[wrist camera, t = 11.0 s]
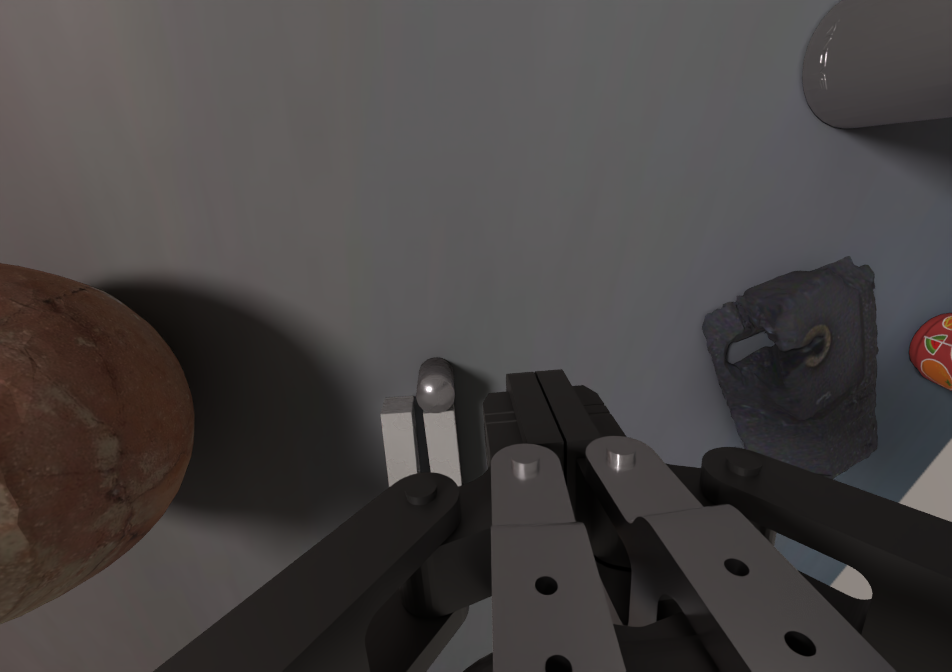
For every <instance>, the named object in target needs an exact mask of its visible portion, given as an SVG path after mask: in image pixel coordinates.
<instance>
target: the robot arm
mask: <svg viewBox="0 0 952 672" xmlns="http://www.w3.org/2000/svg"><path fill="white" fill-rule="evenodd" d="M802 80H803V89H804V93H805V96H806V99H807V102H808V104H809V106H810V108H811V109H812V111H813V112H814V114H815V115H816V116H818V117H819V118H820V119H821V120H822V121H823V122H825V123H827V124H829V125H831V126H834V127H839V128H844V129H846V128H860V127H869V126H878V125H887V124H897V123H906V122H915V121H924V120H932V119H941V118H950V117H952V0H842V1H840V2H839V3H838V4H837V5H835V6H834V7H833V8H832V9H831V10H830V11H829V12H828V14H827V15H826V16H825V17H824V18H823V19H822V21H821V22H820V24H819V25H818V27H817V28H816V30H815V32H814V33H813V36H812V38H811V40H810V42H809V45H808V47H807V50H806V54H805V58H804V62H803V73H802ZM483 414H484V430H485V445H486V456H487V464H488V470H487V471H486V472H485V473H484V474H483V475H482V476H481V477H479V478H478V479H476V480H474V481H472V482H470V483H467V484H464V485H461V486H457V484H456V483H455V481H454V480H453V479H451V478H450V477H448V476H446V475H443V474H440V473H434V472H423V473H416V474H413V475H409V476H407V477H404V478H402V479H400V480H399V481H397V482H396V483H394V484H393V485H392V486H390V487H389V488H388V489H387V490H385V491H384V492H383V493H381V494H380V495H379V496H378V497H376V498H375V499H374V500H372V501H371V502H370V503H369V504H367V505H366V506H365V507H363V508H362V509H361V510H360V511H358V512H357V513H356V514H354V515H353V516H352V517H351V518H349V519H348V520H347V521H346V522H344V523H343V524H342V525H340V526H339V527H338V528H337V529H335V530H334V531H333V532H331V533H330V534H329V535H328V536H326V537H325V538H324V539H322V540H321V541H320V542H319V543H317V544H316V545H315V546H313V547H312V548H311V549H310V550H308V551H307V552H306V553H304V554H303V555H302V556H301V557H299V558H298V559H297V560H295V561H294V562H293V563H292V564H290V565H289V566H288V567H287V568H285V569H284V570H283V571H281V572H280V573H279V574H278V575H276V576H275V577H274V578H272V579H271V580H270V581H269V582H267V583H266V584H265V585H263V586H262V587H261V588H260V589H258V590H257V591H256V592H254V593H253V594H252V595H251V596H249V597H248V598H247V599H245V600H244V601H243V602H242V603H240V604H239V605H238V606H237V607H235V608H234V609H233V610H231V611H230V612H229V613H228V614H226V615H225V616H224V617H222V618H221V619H220V620H219V621H217V622H216V623H215V624H213V625H212V626H211V627H210V628H208V629H207V630H206V631H204V632H203V633H202V634H201V635H199V636H198V637H197V638H195V639H194V640H193V641H192V642H190V643H189V644H188V645H186V646H185V647H184V648H183V649H181V650H180V651H179V652H178V653H176V654H175V655H174V656H172V657H171V658H170V659H169V660H167V661H166V662H165V663H163V664H162V665H161V666H160V667H158V668H157V669H156V670H154V671H153V672H426V671H427V670H428V668H429V667H430V666H431V664H432V663H433V662H434V661H435V659H436V658H437V657H438V655H439V654H440V653H441V651H442V650H443V649H444V647H445V646H446V645H447V643H448V642H449V641H450V639H451V638H452V637H453V636H454V634H455V633H456V632H457V630H458V629H459V628H460V626H461V625H462V624H463V622H464V621H465V619H466V617H467V614H468V611H469V605H471V604H474V603H476V602H478V601H481V600H483V599H486V598H488V597H490V596H492V636H493V652H492V653H490V654H489V655H487V656H485V657H483V658H481V659H479V660H478V661H477V662H475V663H474V664H472V665H471V666H470V667H468V668H467V669H466V670H464V671H463V672H952V522H950V521H947V520H944V519H941V518H939V517H936V516H933V515H930V514H928V513H925V512H922V511H919V510H916V509H913V508H911V507H908V506H905V505H902V504H900V503H897V502H894V501H891V500H888V499H886V498H883V497H880V496H877V495H874V494H872V493H869V492H866V491H863V490H861V489H858V488H855V487H852V486H849V485H847V484H844V483H841V482H838V481H835V480H833V479H830V478H827V477H824V476H821V475H819V474H816V473H813V472H810V471H807V470H805V469H802V468H799V467H796V466H794V465H791V464H788V463H785V462H782V461H780V460H777V459H774V458H771V457H768V456H766V455H763V454H760V453H757V452H754V451H751V450H747V449H742V448H735V447H721V448H716V449H712V450H710V451H708V452H707V453H705V455H704V456H703V458H702V466H701V468H695V467H686V466H677V465H670V464H665V463H664V462H663V460H662V459H661V458H660V457H659V456H658V455H657V454H656V453H655V451H654V450H653V449H652V448H651V447H649V446H648V445H647V444H645V443H643V442H641V441H639V440H636V439H633V438H629V437H626V435H625V434H624V432H623V431H622V429H621V428H620V426H619V425H618V424H617V422H616V421H615V419H614V418H613V416H612V415H611V414H610V412H609V410H608V409H607V407H606V406H604V403H603V401H602V400H601V398H600V397H599V395H598V394H597V393H596V392H594V391H592V390H591V389H589V388H587V387H585V386H584V385H581V386H572V385H571V384H570V382H569V380H568V378H567V377H566V375H565V373H564V371H563V370H562V369H561V370H548V371H536V372H535V373H534V372H524V373H512V374H506V392H497V393H489V394H488V396H487V397H486V399H485V400H484V402H483ZM776 533H779V534H781V535H784V536H786V537H788V538H790V539H792V540H794V541H797V542H799V543H801V544H803V545H805V546H808V547H810V548H812V549H814V550H816V551H818V552H821V553H823V554H825V555H827V556H829V557H832V558H834V559H836V560H838V561H840V562H842V563H845V564H847V565H849V566H851V567H853V568H854V569H856V570H857V571H859V572H860V573H861V574H862V575H863V576H864V577H865V578H866V580H867V581H868V582H869V584H870V586H871V588H872V593H873V594H872V599H868V600H860V599H856V598H853V597H851V596H848V595H846V594H844V593H842V592H840V591H838V590H836V589H834V588H832V587H830V586H828V585H826V584H824V583H822V582H820V581H818V580H816V579H814V578H812V577H810V576H808V575H806V574H804V573H802V572H800V571H798V570H797V569H796V568H795V567H794V566H793V565H792V564H791V563H790V562H789V561H788V560H787V559H786V558H785V557H784V556H783V555H782V554H781V553H780V552H779V551H778V550H777V549H776V548H775V547H774V543H775V538H776Z"/></svg>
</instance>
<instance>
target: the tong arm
mask: <svg viewBox="0 0 952 672" xmlns="http://www.w3.org/2000/svg"><path fill="white" fill-rule="evenodd" d="M423 417H424V424H425V432H426V440H427V447H428V455H429V463H430V470H431V472H434V473H440V474H443V475H446V476H448V477H450V478H451V479H453V480H454V481H455V483H456V484H457V486H461V485H462V475H461V466H460V456H459V447H458V437H457V428H456V418H455V409H454V402H453V404H452V406H451V407H450V408H449V409H448V410H446V411H444V412H442V413H429V412H427V411H425V410H423Z"/></svg>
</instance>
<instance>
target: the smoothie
mask: <svg viewBox="0 0 952 672" xmlns="http://www.w3.org/2000/svg"><path fill="white" fill-rule="evenodd" d="M909 355H910V360H911V362H912V363H913V365H914V366H915V367H916V368H918V370H919V372H920V373H921V374H922V376H923V377H925V378H926V379H928V380H930V381H932V382H934V383H936V384H938V385H940V386H942V387H944V388H946V389H948V390H950V391H952V313H946V314H941V315H938V316H936V317H934V318H932V319H930V320H929V321H928V322H926V323H925V324H924V325H922V326H921V328H920V329H919V330H918V331H917V332H916V334H915V335H914V337H913V339H912V342H911V344H910V350H909Z"/></svg>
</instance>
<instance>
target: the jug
mask: <svg viewBox="0 0 952 672" xmlns="http://www.w3.org/2000/svg"><path fill="white" fill-rule="evenodd" d="M194 418H195V414H194V407H193V400H192V396H191V392H190V389H189V386H188V383H187V380H186V377H185V374H184V372H183V370H182V368H181V366H180V363H179V361H178V360H177V358H176V357H175V355H174V353H173V352H172V350H171V349H170V347H169V346H168V345H167V343H166V342H165V341H164V340H163V338H162V337H161V336H160V335H159V334H158V332H157V331H156V330H155V329H154V328H153V327H152V326H151V325H150V324H149V323H148V322H147V321H145V320H144V319H143V318H141V317H140V316H139V315H138V314H136V313H135V312H134V311H132V310H131V309H130V308H129V307H127V306H126V305H125V304H123V303H122V302H121V301H119V300H118V299H116V298H114V297H113V296H111V295H109V294H108V293H106V292H104V291H102V290H99V289H96V288H94V287H91V286H88V285H86V284H83V283H80V282H76V281H74V280H71V279H68V278H64V277H61V276H58V275H54V274H50V273H46V272H42V271H38V270H34V269H30V268H25V267H20V266H15V265H8V264H2V263H0V624H2V623H5V622H7V621H10V620H12V619H15V618H17V617H20V616H22V615H24V614H26V613H28V612H30V611H32V610H34V609H36V608H38V607H40V606H42V605H43V604H45V603H48V602H50V601H52V600H54V599H56V598H58V597H60V596H61V595H63V594H65V593H66V592H68V591H70V590H71V589H73V588H75V587H76V586H78V585H80V584H81V583H83V582H85V581H86V580H88V579H90V578H91V577H93V576H94V575H96V574H98V573H99V572H101V571H102V570H104V569H105V568H107V567H108V566H109V565H111V564H112V563H113V562H115V561H116V560H117V559H118V558H120V557H121V556H122V555H124V554H125V553H126V552H127V551H129V550H130V549H131V548H132V547H133V546H134V545H135V544H136V543H138V542H139V541H140V540H141V539H142V538H143V537H144V536H145V535H146V534H147V533H148V532H149V531H150V529H151V528H152V527H153V526H154V525H155V524H156V523H157V522H158V521H159V519H160V518H161V517H162V516H163V514H164V513H165V511H166V510H167V508H168V507H169V505H170V503H171V502H172V500H173V499H174V497H175V495H176V494H177V492H178V491H179V488H180V486H181V483H182V481H183V478H184V475H185V472H186V469H187V467H188V464H189V461H190V458H191V454H192V449H193V442H194Z"/></svg>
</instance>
